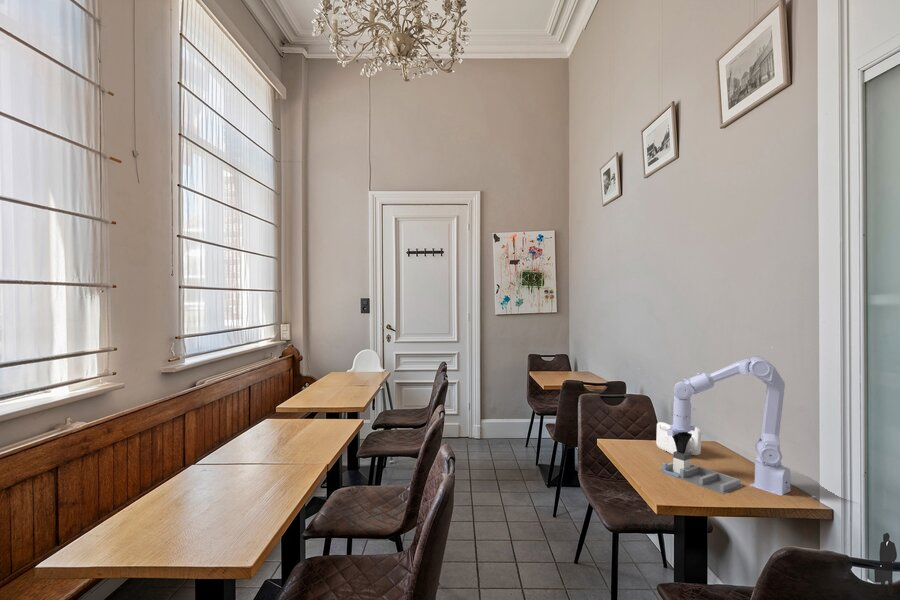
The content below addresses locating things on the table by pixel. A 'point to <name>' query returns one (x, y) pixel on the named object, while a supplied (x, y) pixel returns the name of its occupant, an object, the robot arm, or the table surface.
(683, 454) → the white upright block
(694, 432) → the cable organizer
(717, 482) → the parts fixture tray
